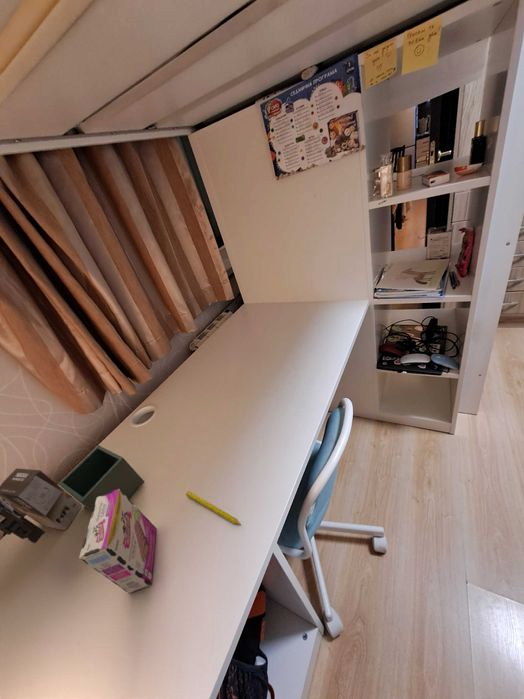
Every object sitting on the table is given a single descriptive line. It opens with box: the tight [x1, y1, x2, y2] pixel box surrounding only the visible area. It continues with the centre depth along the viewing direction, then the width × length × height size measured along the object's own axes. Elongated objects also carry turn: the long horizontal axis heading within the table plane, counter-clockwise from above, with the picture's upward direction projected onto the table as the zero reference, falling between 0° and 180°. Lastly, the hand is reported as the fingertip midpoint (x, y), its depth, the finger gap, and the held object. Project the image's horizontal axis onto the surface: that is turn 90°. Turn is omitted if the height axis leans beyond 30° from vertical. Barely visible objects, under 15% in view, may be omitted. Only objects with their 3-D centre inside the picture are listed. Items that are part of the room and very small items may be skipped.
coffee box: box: [0, 467, 83, 531], centre depth 70 cm, size 9×6×16 cm
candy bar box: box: [78, 489, 157, 594], centre depth 56 cm, size 11×5×16 cm, turn 13°
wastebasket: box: [57, 444, 145, 513], centre depth 73 cm, size 12×12×10 cm
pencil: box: [185, 490, 241, 525], centre depth 65 cm, size 16×1×1 cm, turn 58°
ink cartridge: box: [5, 508, 46, 544], centre depth 57 cm, size 5×2×8 cm, turn 67°
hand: (22, 526), depth 57 cm, fingers closed on ink cartridge, 5 cm apart
